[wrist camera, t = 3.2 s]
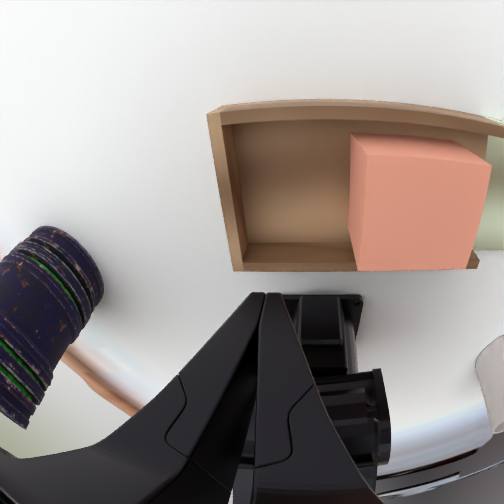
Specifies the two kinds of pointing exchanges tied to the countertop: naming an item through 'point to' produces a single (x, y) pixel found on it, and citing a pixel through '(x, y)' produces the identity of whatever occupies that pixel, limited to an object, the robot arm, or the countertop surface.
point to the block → (414, 202)
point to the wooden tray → (324, 175)
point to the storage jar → (41, 314)
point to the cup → (493, 382)
